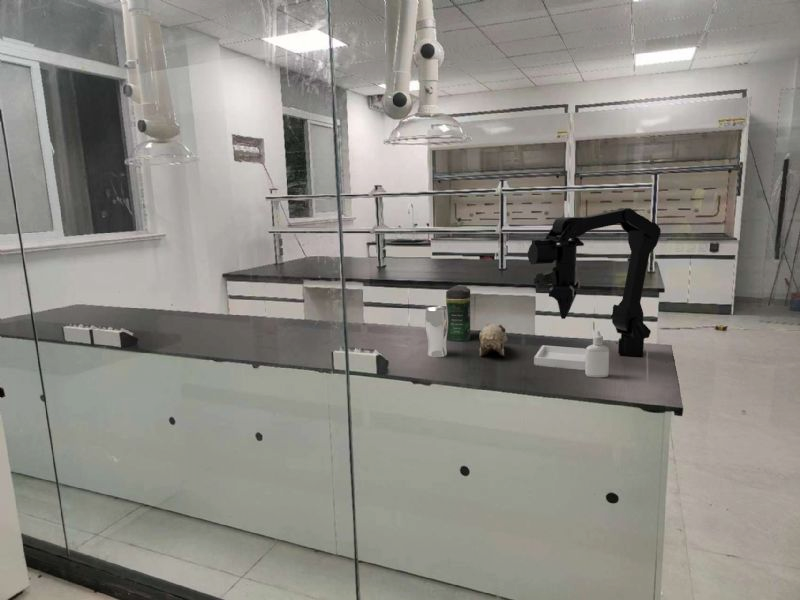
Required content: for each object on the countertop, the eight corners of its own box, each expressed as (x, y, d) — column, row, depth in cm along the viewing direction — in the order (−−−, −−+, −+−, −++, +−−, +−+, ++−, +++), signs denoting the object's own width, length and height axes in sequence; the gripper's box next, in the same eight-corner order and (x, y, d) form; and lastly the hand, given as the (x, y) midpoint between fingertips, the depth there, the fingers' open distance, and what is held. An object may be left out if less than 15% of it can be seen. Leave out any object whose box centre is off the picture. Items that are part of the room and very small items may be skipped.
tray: (590, 356, 160) (590, 348, 159) (586, 370, 147) (586, 361, 147) (542, 352, 165) (542, 345, 165) (533, 365, 153) (534, 357, 152)
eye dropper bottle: (605, 379, 139) (606, 334, 137) (583, 376, 142) (584, 331, 140) (610, 375, 142) (611, 330, 140) (588, 371, 146) (590, 328, 144)
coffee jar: (467, 344, 178) (467, 288, 174) (444, 343, 180) (443, 288, 177) (472, 337, 187) (472, 284, 184) (450, 336, 189) (449, 284, 186)
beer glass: (451, 354, 167) (450, 306, 164) (445, 360, 160) (444, 310, 158) (429, 353, 169) (428, 305, 166) (423, 359, 162) (422, 310, 160)
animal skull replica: (511, 348, 171) (512, 317, 170) (503, 363, 156) (503, 329, 154) (486, 347, 174) (486, 316, 172) (475, 361, 158) (475, 328, 157)
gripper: (541, 259, 163) (540, 309, 166) (530, 265, 146) (529, 322, 149) (580, 259, 158) (579, 311, 161) (573, 266, 142) (571, 324, 144)
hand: (564, 317), depth 154 cm, fingers open, 3 cm apart
